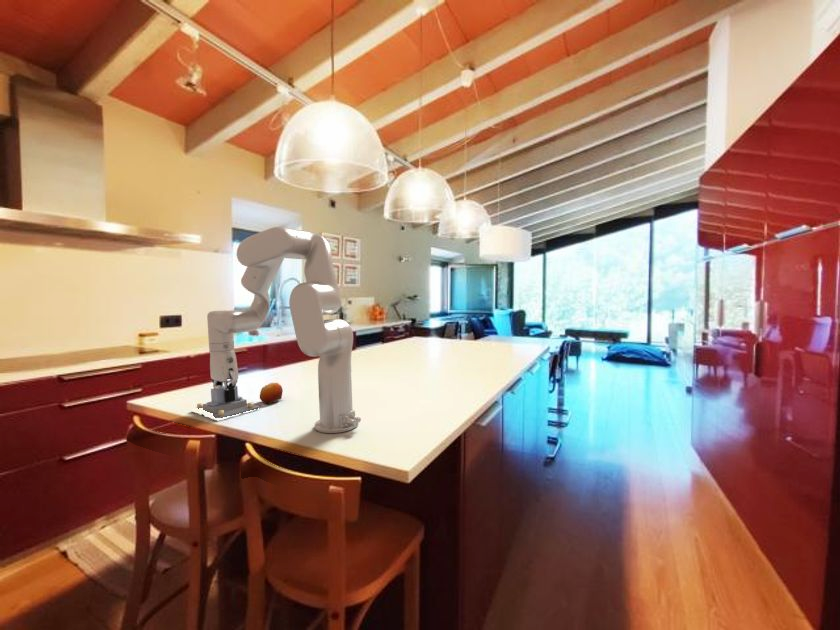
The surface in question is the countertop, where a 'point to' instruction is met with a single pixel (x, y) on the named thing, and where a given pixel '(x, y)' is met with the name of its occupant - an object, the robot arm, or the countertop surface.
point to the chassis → (228, 408)
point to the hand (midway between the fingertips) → (224, 399)
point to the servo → (221, 396)
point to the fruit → (271, 393)
